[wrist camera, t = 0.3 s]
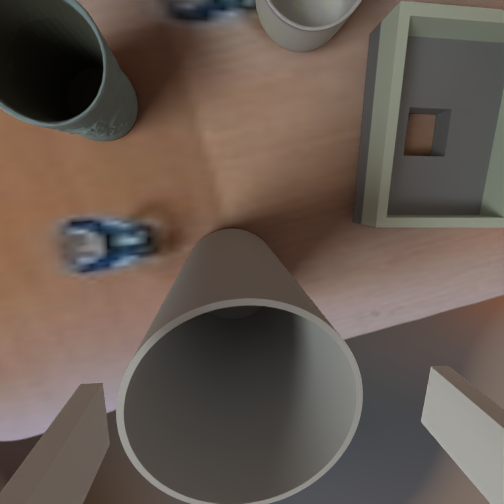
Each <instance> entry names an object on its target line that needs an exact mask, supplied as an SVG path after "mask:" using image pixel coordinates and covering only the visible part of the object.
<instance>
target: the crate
mask: <svg viewBox="0 0 504 504" xmlns="http://www.w3.org/2000/svg"><path fill="white" fill-rule="evenodd" d="M409 113H410V114H433V115H437V116H436V122H435V129H434V136H433V143H432V150H431V156H404V148H405V140H406V132H407V124H408V116H409ZM353 222H354V223H359V224H363V225H367V226H371V227H375V228H442V227H504V10H502V9H491V8H479V7H467V6H456V5H444V4H432V3H421V2H409V1H400V2H399V3H398V4H397V5H396V6H395V8H394V9H393V10H392V11H391V12H390V13H389V14H388V15H387V16H386V17H385V18H384V19H383V20H382V22H381V23H380V24H379V25H378V26H377V27H376V28H375V29H374V30H373V31H372V32H371V33H370V38H369V49H368V60H367V70H366V81H365V92H364V103H363V114H362V125H361V136H360V147H359V158H358V169H357V180H356V191H355V202H354V213H353Z"/></svg>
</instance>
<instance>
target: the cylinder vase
mask: <svg viewBox="0 0 504 504" xmlns="http://www.w3.org/2000/svg"><path fill="white" fill-rule="evenodd" d="M362 401H363V389H362V381H361V376H360V372H359V368H358V366H357V363H356V360H355V358H354V356H353V354H352V352H351V350H350V349H349V347H348V346H347V344H346V343H345V341H344V340H343V339H342V338H341V336H340V335H339V334H338V333H337V331H336V330H335V329H334V328H333V326H332V325H331V324H330V323H329V321H328V320H327V319H326V318H325V316H324V315H323V314H322V313H321V311H320V310H319V309H318V308H317V306H316V305H315V304H314V303H313V301H312V300H311V299H310V298H309V296H308V295H307V294H306V293H305V291H304V290H303V289H302V288H301V286H300V285H299V284H298V283H297V281H296V280H295V279H294V278H293V276H292V275H291V274H290V273H289V271H288V270H287V269H286V268H285V266H284V265H283V264H282V263H281V261H280V260H279V259H278V258H277V256H276V255H275V254H274V253H273V251H272V250H271V249H270V248H269V246H268V245H267V244H266V243H265V242H264V241H263V240H262V239H261V238H259V237H258V236H257V235H255V234H253V233H251V232H248V231H245V230H242V229H222V230H218V231H215V232H213V233H211V234H209V235H207V236H205V237H204V238H203V239H201V240H200V241H199V242H198V243H197V244H196V245H195V247H194V248H193V249H192V251H191V253H190V255H189V256H188V258H187V260H186V262H185V264H184V266H183V267H182V269H181V271H180V273H179V275H178V277H177V278H176V280H175V282H174V284H173V286H172V287H171V289H170V291H169V293H168V295H167V297H166V298H165V300H164V302H163V304H162V306H161V308H160V309H159V311H158V313H157V315H156V317H155V319H154V320H153V322H152V324H151V326H150V328H149V329H148V331H147V333H146V335H145V337H144V339H143V340H142V342H141V344H140V346H139V348H138V350H137V351H136V353H135V355H134V357H133V359H132V360H131V362H130V364H129V366H128V368H127V370H126V372H125V374H124V376H123V379H122V382H121V385H120V388H119V392H118V398H117V406H116V419H117V427H118V431H119V436H120V439H121V442H122V445H123V447H124V450H125V452H126V453H127V455H128V457H129V459H130V460H131V462H132V463H133V465H134V466H135V467H136V469H137V470H138V471H139V472H140V473H141V474H142V475H143V476H144V477H145V478H146V479H147V480H148V481H149V482H150V483H152V484H153V485H154V486H156V487H157V488H159V489H160V490H162V491H163V492H165V493H167V494H169V495H170V496H172V497H175V498H177V499H179V500H182V501H184V502H187V503H191V504H269V503H273V502H276V501H279V500H281V499H284V498H286V497H289V496H291V495H293V494H295V493H297V492H299V491H300V490H302V489H304V488H306V487H307V486H309V485H310V484H312V483H313V482H315V481H316V480H317V479H319V478H320V477H321V476H322V475H324V474H325V473H326V472H327V471H328V470H329V469H330V468H331V467H332V466H333V465H334V464H335V463H336V462H337V460H338V459H339V458H340V457H341V455H342V454H343V453H344V451H345V450H346V448H347V447H348V445H349V443H350V441H351V440H352V437H353V435H354V433H355V431H356V428H357V425H358V422H359V419H360V414H361V409H362Z"/></svg>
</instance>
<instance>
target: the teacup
mask: <svg viewBox="0 0 504 504" xmlns="http://www.w3.org/2000/svg"><path fill="white" fill-rule="evenodd" d="M361 1H362V0H256V8H257V13H258V16H259V19H260V22H261V24H262V26H263V28H264V30H265V31H266V33H267V34H268V36H269V37H270V38H271V39H272V40H273V41H274V42H275V43H276V44H278V45H279V46H280V47H282V48H284V49H287V50H289V51H294V52H306V51H311V50H314V49H317V48H319V47H320V46H322V45H324V44H325V43H326V42H328V41H329V40H330V39H331V38H332V37H333V36H334V35H335V34H336V33H337V32H338V31H339V29H340V28H341V27H342V26H343V24H344V23H345V22H346V20H347V19H348V18H349V16H351V14H352V13H353V12H354V11H355V10H356V9H357V7H358V6H359V5H360V3H361Z"/></svg>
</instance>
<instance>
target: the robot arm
mask: <svg viewBox="0 0 504 504" xmlns="http://www.w3.org/2000/svg"><path fill="white" fill-rule="evenodd" d="M421 422H422V423H423V425H424V426H425V427H426V428H427V429H428V431H429V432H430V433H431V434H432V435H433V437H435V439H436V440H437V441H438V442H439V444H440V445H441V446H442V447H443V448H444V449H445V451H446V452H447V453H448V454H449V455H450V457H451V458H452V459H453V460H454V461H455V462H456V463H457V465H458V466H459V467H460V468H461V469H462V471H463V472H464V473H465V474H466V475H467V476H468V478H469V479H470V480H471V481H472V482H473V483H474V485H475V486H476V487H477V488H478V489H479V491H480V492H481V493H482V494H483V495H484V496H485V498H486V499H487V500H488V501H489V502H490V504H504V409H502V408H501V407H500V406H499V405H497V404H496V403H495V402H493V401H492V400H491V399H490V398H488V397H487V396H486V395H485V394H483V393H482V392H481V391H479V390H478V389H477V388H476V387H474V386H473V385H472V384H471V383H469V382H468V381H466V380H465V379H464V378H463V377H462V376H460V375H459V374H458V373H456V372H455V371H454V370H453V369H451V368H450V367H449V366H435V367H431V370H430V375H429V381H428V386H427V392H426V397H425V403H424V408H423V413H422V419H421ZM109 445H110V442H109V433H108V425H107V416H106V408H105V399H104V391H103V383H94V384H81V385H80V386H79V387H78V389H77V390H76V391H75V393H74V394H73V395H72V397H71V398H70V399H69V401H68V402H67V403H66V405H65V406H64V407H63V409H62V410H61V412H60V413H59V414H58V416H57V417H56V418H55V420H54V421H53V422H52V424H51V425H50V426H49V428H48V429H47V430H46V432H45V433H44V434H43V436H42V437H41V439H40V440H39V441H38V443H37V444H36V445H35V447H34V448H33V449H32V451H31V452H30V454H29V455H28V456H27V457H26V459H25V460H24V462H23V463H22V464H21V466H20V467H19V468H18V470H17V471H16V472H15V474H14V475H13V476H12V478H11V479H10V480H9V482H8V483H7V484H6V486H5V487H4V488H3V490H2V491H1V493H0V504H83V502H84V500H85V498H86V495H87V493H88V491H89V489H90V487H91V485H92V482H93V480H94V478H95V475H96V473H97V471H98V469H99V467H100V465H101V462H102V460H103V458H104V456H105V453H106V451H107V449H108V447H109Z"/></svg>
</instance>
